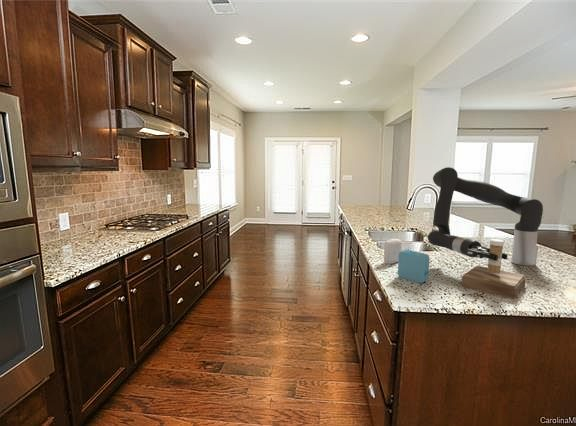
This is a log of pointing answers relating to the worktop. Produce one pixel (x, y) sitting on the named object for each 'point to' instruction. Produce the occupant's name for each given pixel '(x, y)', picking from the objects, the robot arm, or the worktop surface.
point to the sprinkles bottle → (495, 249)
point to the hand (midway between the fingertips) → (501, 257)
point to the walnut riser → (494, 282)
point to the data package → (413, 266)
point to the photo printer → (392, 250)
